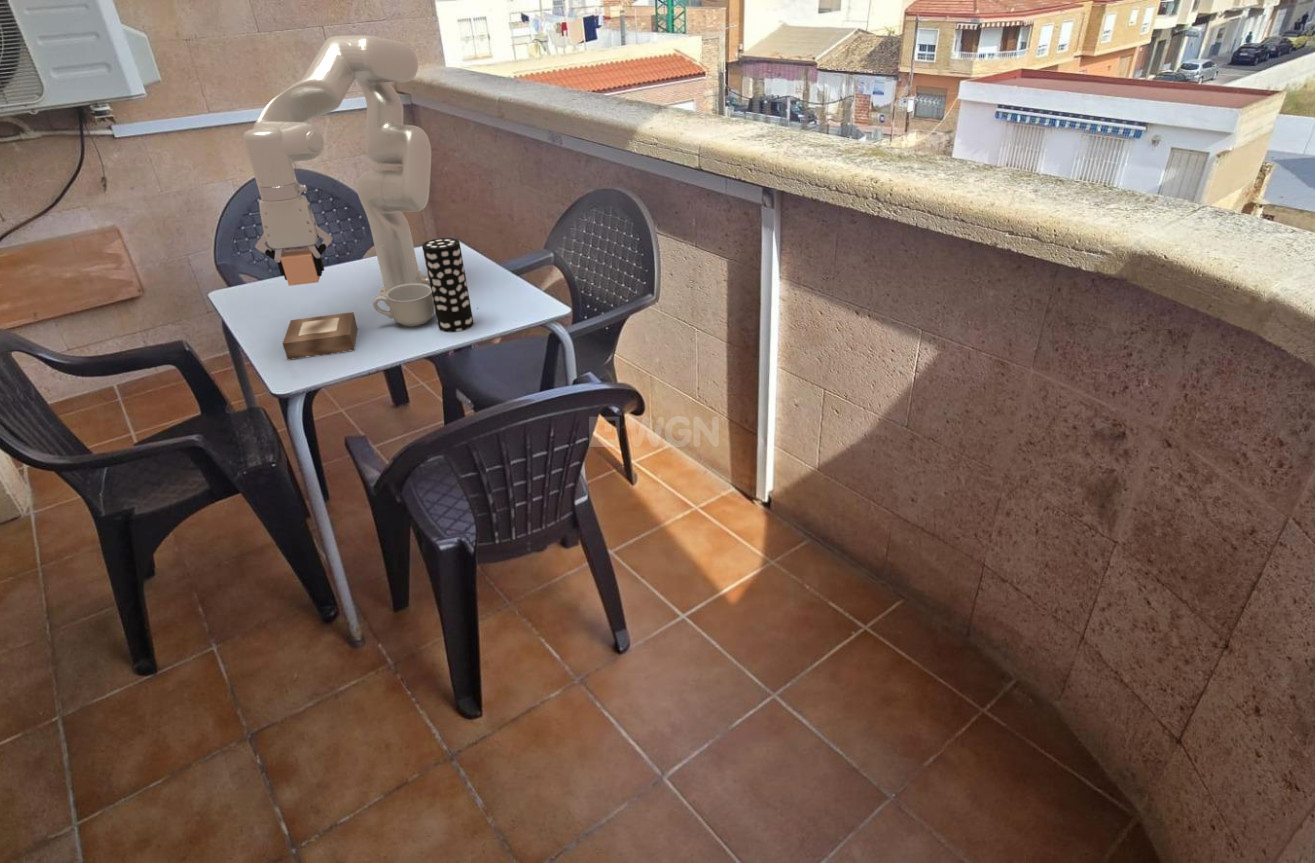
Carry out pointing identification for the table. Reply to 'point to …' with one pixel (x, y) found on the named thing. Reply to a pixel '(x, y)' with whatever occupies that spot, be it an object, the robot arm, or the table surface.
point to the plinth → (320, 335)
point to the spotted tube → (448, 284)
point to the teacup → (408, 304)
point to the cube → (299, 267)
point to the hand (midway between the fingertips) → (303, 275)
